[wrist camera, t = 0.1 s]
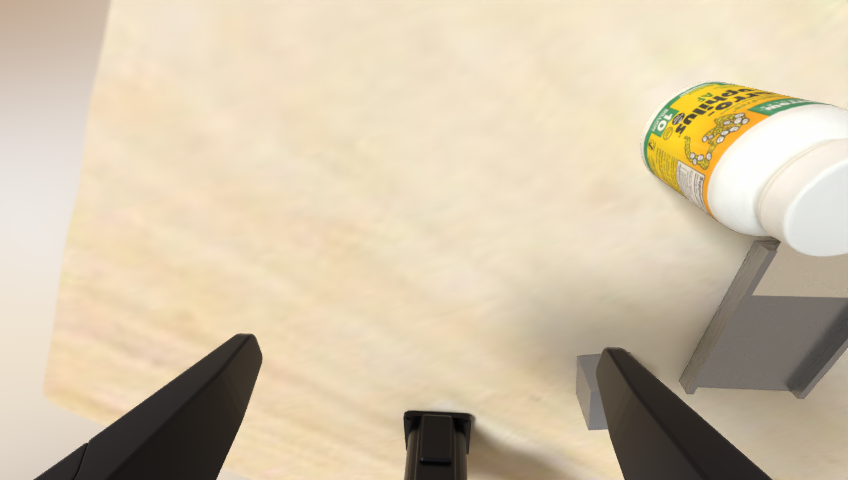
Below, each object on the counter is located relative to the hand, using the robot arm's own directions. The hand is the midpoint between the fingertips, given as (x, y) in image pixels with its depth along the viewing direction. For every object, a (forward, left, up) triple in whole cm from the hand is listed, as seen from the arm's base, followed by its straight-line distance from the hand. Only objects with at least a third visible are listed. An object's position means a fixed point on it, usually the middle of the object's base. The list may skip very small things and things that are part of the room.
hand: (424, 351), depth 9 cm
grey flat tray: (-12, -25, -15) cm, 31 cm away
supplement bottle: (+2, -14, -15) cm, 20 cm away
